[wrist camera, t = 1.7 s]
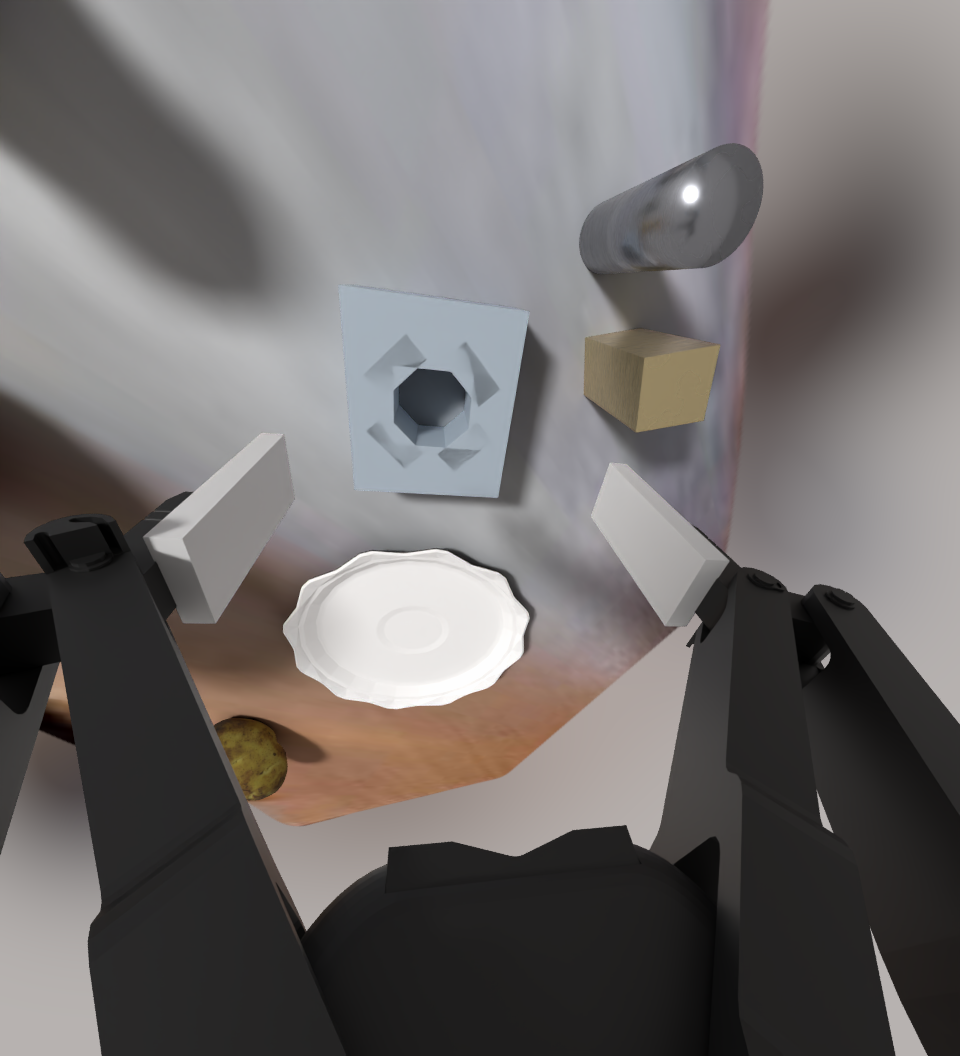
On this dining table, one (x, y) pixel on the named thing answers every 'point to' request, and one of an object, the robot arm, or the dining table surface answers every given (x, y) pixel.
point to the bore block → (438, 344)
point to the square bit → (649, 377)
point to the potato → (253, 756)
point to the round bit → (677, 216)
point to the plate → (406, 628)
